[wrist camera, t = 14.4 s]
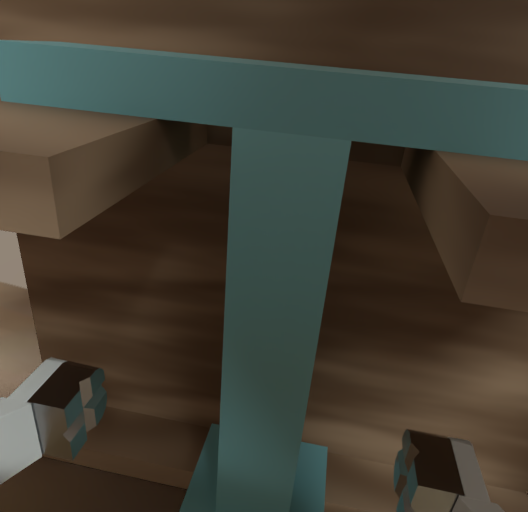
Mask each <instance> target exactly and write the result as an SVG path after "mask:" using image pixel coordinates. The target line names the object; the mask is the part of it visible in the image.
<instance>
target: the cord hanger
mask: <svg viewBox="0 0 528 512" xmlns="http://www.w3.org/2000/svg"><path fill="white" fill-rule="evenodd" d="M0 97H1V101H6V102H15V103H23V104H32V105H41V106H50V107H58V108H67V109H76V110H85V111H94V112H102V113H111V114H120V115H129V116H138V117H146V118H155V119H164V120H173V121H181V122H190V123H199V124H208V125H217V126H225V127H233V129H232V152H231V174H230V197H229V220H228V243H227V266H226V288H225V311H224V334H223V357H222V380H221V403H220V425H217V424H211V427H210V430H209V432H208V435H207V438H206V441H205V443H204V446H203V449H202V451H201V454H200V457H199V460H198V462H197V465H196V468H195V470H194V473H193V476H192V479H191V481H190V484H189V487H188V489H187V492H186V495H185V498H184V500H183V503H182V506H181V508H180V511H179V512H324V505H325V486H326V468H327V450H328V447H325V446H320V445H315V444H310V443H305V442H301V439H302V433H303V427H304V421H305V415H306V409H307V403H308V397H309V391H310V385H311V379H312V373H313V367H314V361H315V355H316V349H317V344H318V338H319V332H320V326H321V320H322V314H323V308H324V302H325V296H326V290H327V284H328V278H329V272H330V266H331V260H332V254H333V248H334V242H335V236H336V230H337V224H338V218H339V212H340V206H341V200H342V195H343V189H344V183H345V177H346V171H347V165H348V159H349V153H350V147H351V141H357V142H366V143H375V144H384V145H392V146H401V147H410V148H419V149H427V150H436V151H445V152H454V153H463V154H471V155H480V156H489V157H498V158H507V159H515V160H524V161H528V85H521V84H511V83H500V82H489V81H478V80H467V79H457V78H446V77H435V76H424V75H414V74H403V73H392V72H381V71H370V70H360V69H349V68H338V67H327V66H316V65H306V64H295V63H284V62H273V61H263V60H252V59H241V58H230V57H219V56H209V55H198V54H187V53H176V52H165V51H155V50H144V49H133V48H122V47H111V46H101V45H90V44H79V43H68V42H53V41H20V40H0Z"/></svg>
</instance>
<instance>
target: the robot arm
mask: <svg viewBox="0 0 528 512" xmlns="http://www.w3.org/2000/svg"><path fill="white" fill-rule="evenodd" d="M104 380H105V375H104V370H103V369H101V368H98V367H93V366H89V365H84V364H80V363H76V362H71V361H65V360H61V359H56V358H52V357H51V358H49V359H46V360H45V361H44V362H43V363H42V364H41V365H40V366H39V367H38V368H37V369H36V370H35V371H34V372H33V373H32V374H31V375H30V376H29V377H28V378H27V379H26V380H25V381H24V382H23V383H22V384H21V385H20V386H19V387H18V388H17V389H16V390H15V391H14V392H13V393H12V394H11V395H10V396H9V397H8V398H4V397H1V398H0V484H2V483H3V482H5V481H6V480H8V479H9V478H11V477H12V476H14V475H15V474H17V473H18V472H20V471H21V470H23V469H24V468H26V467H27V466H29V465H30V464H32V463H33V462H35V461H36V460H38V459H39V458H41V457H42V455H47V456H53V457H58V458H63V459H68V460H74V458H75V457H76V455H77V454H78V452H79V451H80V450H81V448H82V447H83V445H84V444H85V442H86V441H87V431H89V430H91V429H92V428H94V427H96V426H97V425H98V423H99V421H100V420H101V418H102V416H103V414H104V411H105V408H106V404H107V392H106V390H105V389H104V388H103V387H102V385H101V384H102V383H103V382H104ZM402 446H403V449H401V450H400V451H398V452H397V456H396V460H395V465H394V491H395V493H396V494H397V495H398V497H399V498H400V499H399V502H398V505H397V508H396V511H397V512H505V511H504V510H503V509H502V508H501V507H500V506H499V505H498V504H496V503H492V502H491V501H490V498H489V495H488V492H487V489H486V486H485V483H484V480H483V476H482V473H481V470H480V467H479V464H478V461H477V458H476V455H475V451H474V448H473V445H472V444H471V442H470V441H468V440H463V439H458V438H452V437H446V436H442V435H437V434H431V433H426V432H421V431H415V430H410V429H406V430H405V432H404V434H403V437H402Z"/></svg>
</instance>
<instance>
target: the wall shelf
mask: <svg viewBox="0 0 528 512" xmlns="http://www.w3.org/2000/svg"><path fill="white" fill-rule="evenodd" d="M0 40H20V41H53V42H68V43H79V44H90V45H101V46H111V47H122V48H133V49H144V50H155V51H165V52H176V53H187V54H198V55H209V56H219V57H230V58H241V59H252V60H263V61H273V62H284V63H295V64H306V65H316V66H327V67H338V68H349V69H360V70H370V71H381V72H392V73H403V74H414V75H424V76H435V77H446V78H457V79H467V80H478V81H489V82H500V83H511V84H521V85H528V0H0ZM232 129H233V127H225V126H217V125H208V124H199V123H190V122H181V121H173V120H164V119H155V118H146V117H138V116H129V115H120V114H111V113H102V112H94V111H85V110H76V109H67V108H58V107H50V106H41V105H32V104H23V103H15V102H6V101H1V97H0V230H3V231H10V232H16V233H17V238H18V242H19V247H20V253H21V258H22V263H23V268H24V273H25V278H26V283H27V288H28V293H29V298H30V303H31V308H32V313H33V319H34V324H35V329H36V334H37V339H38V344H39V349H40V354H41V359H42V363H43V362H44V361H45V360H46V359H49V358H51V357H52V358H56V359H61V360H65V361H71V362H76V363H80V364H84V365H89V366H93V367H98V368H101V369H103V370H104V375H105V380H104V382H103V383H102V384H101V385H102V387H103V388H104V389H105V390H106V392H107V404H106V408H105V411H104V414H103V416H102V418H101V420H100V421H99V423H98V425H97V426H96V427H94V428H92V429H91V430H89V431H87V441H86V442H85V444H84V445H83V447H82V448H81V450H80V451H79V452H78V454H77V455H76V457H75V458H74V460H68V459H63V458H58V457H53V456H47V455H42V457H47V458H51V459H55V460H60V461H64V462H69V463H73V464H77V465H82V466H86V467H91V468H95V469H99V470H104V471H108V472H113V473H117V474H121V475H126V476H130V477H135V478H139V479H143V480H148V481H152V482H157V483H161V484H166V485H170V486H174V487H179V488H183V489H188V487H189V484H190V481H191V479H192V476H193V473H194V470H195V468H196V465H197V462H198V460H199V457H200V454H201V451H202V449H203V446H204V443H205V441H206V438H207V435H208V432H209V430H210V427H211V424H217V425H220V403H221V380H222V357H223V334H224V311H225V288H226V266H227V243H228V220H229V197H230V174H231V152H232ZM406 429H410V430H415V431H421V432H426V433H431V434H437V435H442V436H446V437H452V438H458V439H463V440H468V441H470V442H471V444H472V445H473V448H474V451H475V455H476V458H477V461H478V464H479V467H480V470H481V473H482V476H483V480H484V483H485V486H486V489H487V492H488V495H489V498H490V501H491V502H492V503H496V504H498V505H499V506H500V507H501V508H502V509H503V510H504V511H505V512H528V496H527V494H526V492H527V491H528V161H524V160H515V159H507V158H498V157H489V156H480V155H471V154H463V153H454V152H445V151H436V150H427V149H419V148H410V147H401V146H392V145H384V144H375V143H366V142H357V141H351V147H350V153H349V159H348V165H347V171H346V177H345V183H344V189H343V195H342V200H341V206H340V212H339V218H338V224H337V230H336V236H335V242H334V248H333V254H332V260H331V266H330V272H329V278H328V284H327V290H326V296H325V302H324V308H323V314H322V320H321V326H320V332H319V338H318V344H317V349H316V355H315V361H314V367H313V373H312V379H311V385H310V391H309V397H308V403H307V409H306V415H305V421H304V427H303V433H302V439H301V442H305V443H310V444H315V445H320V446H325V447H328V450H327V468H326V486H325V505H324V512H397V511H396V508H397V505H398V502H399V499H400V498H399V497H398V495H397V494H396V493H395V491H394V465H395V460H396V456H397V452H398V451H400V450H401V449H403V446H402V437H403V434H404V432H405V430H406Z"/></svg>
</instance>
